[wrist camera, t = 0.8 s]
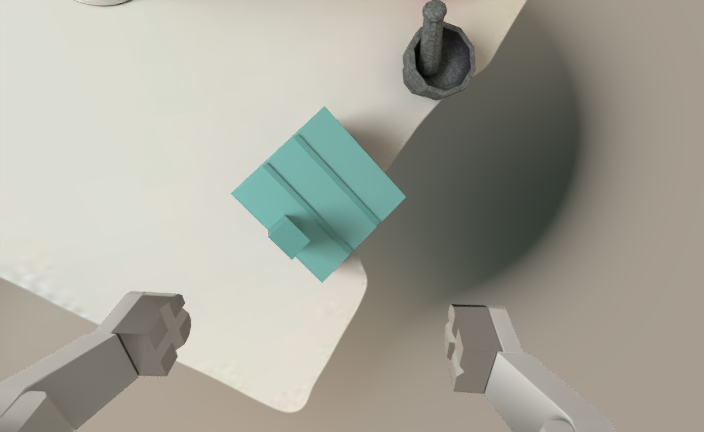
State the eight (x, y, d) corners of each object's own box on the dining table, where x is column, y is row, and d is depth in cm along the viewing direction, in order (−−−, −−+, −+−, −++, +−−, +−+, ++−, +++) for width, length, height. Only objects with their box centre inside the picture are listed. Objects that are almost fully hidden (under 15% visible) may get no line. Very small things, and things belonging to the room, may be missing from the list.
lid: (320, 280, 42) (333, 299, 34) (231, 193, 40) (222, 192, 32) (402, 197, 44) (432, 196, 36) (322, 108, 41) (336, 87, 33)
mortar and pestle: (462, 83, 56) (513, 52, 45) (419, 121, 55) (460, 100, 43) (418, 22, 54) (459, -27, 42) (372, 60, 53) (402, 20, 41)
